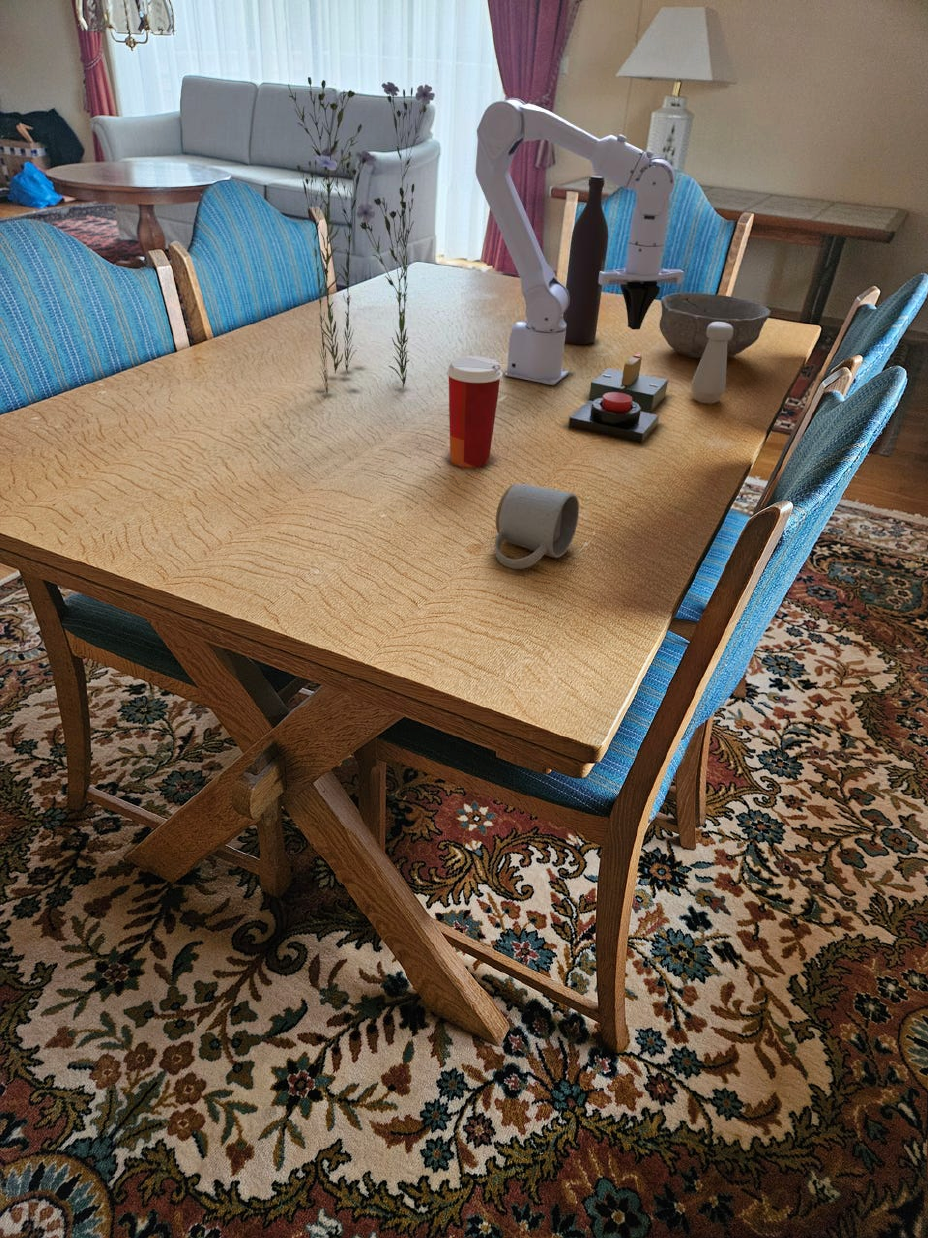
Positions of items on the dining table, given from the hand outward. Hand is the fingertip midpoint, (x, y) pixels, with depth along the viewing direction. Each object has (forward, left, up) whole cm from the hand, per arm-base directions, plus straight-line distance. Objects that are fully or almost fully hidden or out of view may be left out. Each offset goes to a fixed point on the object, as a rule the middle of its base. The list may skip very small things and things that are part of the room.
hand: (633, 327), depth 147 cm
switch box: (+4, -19, -10) cm, 22 cm away
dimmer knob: (+2, -5, -7) cm, 9 cm away
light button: (+4, -19, -7) cm, 21 cm away
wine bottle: (-17, +22, -11) cm, 30 cm away
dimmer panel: (+2, -5, -10) cm, 12 cm away
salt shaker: (+14, +2, -11) cm, 18 cm away
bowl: (+8, +27, -11) cm, 30 cm away
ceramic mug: (+8, -63, -11) cm, 65 cm away
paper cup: (-10, -43, -11) cm, 46 cm away
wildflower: (-39, -24, -11) cm, 47 cm away
